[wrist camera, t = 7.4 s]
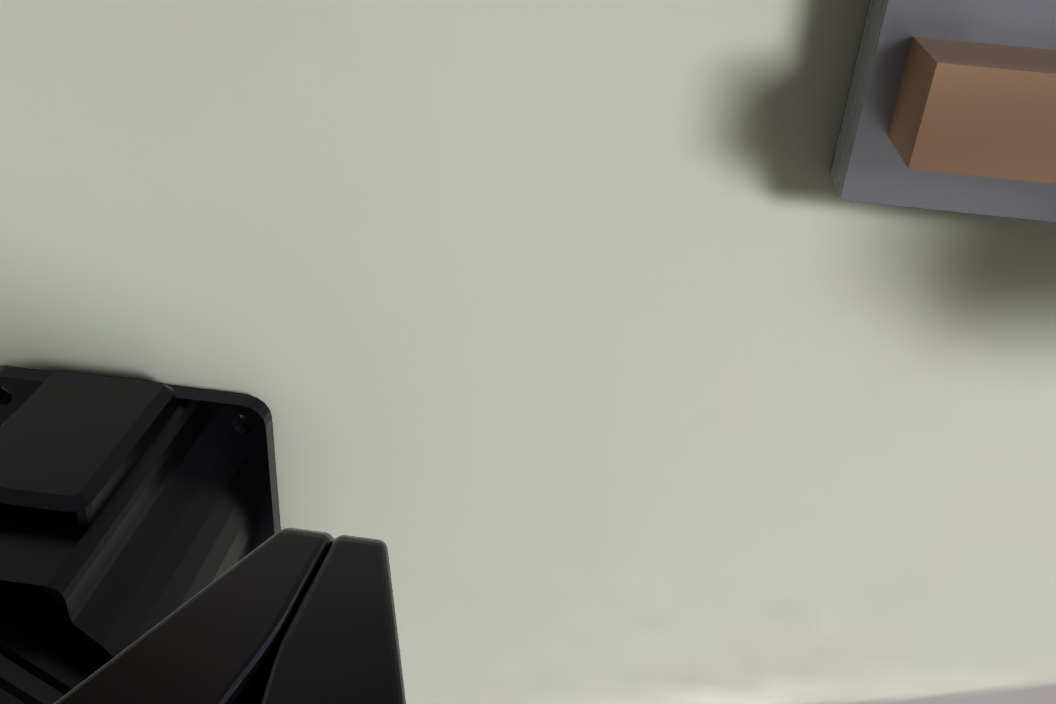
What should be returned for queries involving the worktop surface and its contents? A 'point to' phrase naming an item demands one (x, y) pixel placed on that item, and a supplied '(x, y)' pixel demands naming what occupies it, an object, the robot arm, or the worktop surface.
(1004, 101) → the beam
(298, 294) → the worktop surface
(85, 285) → the worktop surface
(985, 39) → the plate
